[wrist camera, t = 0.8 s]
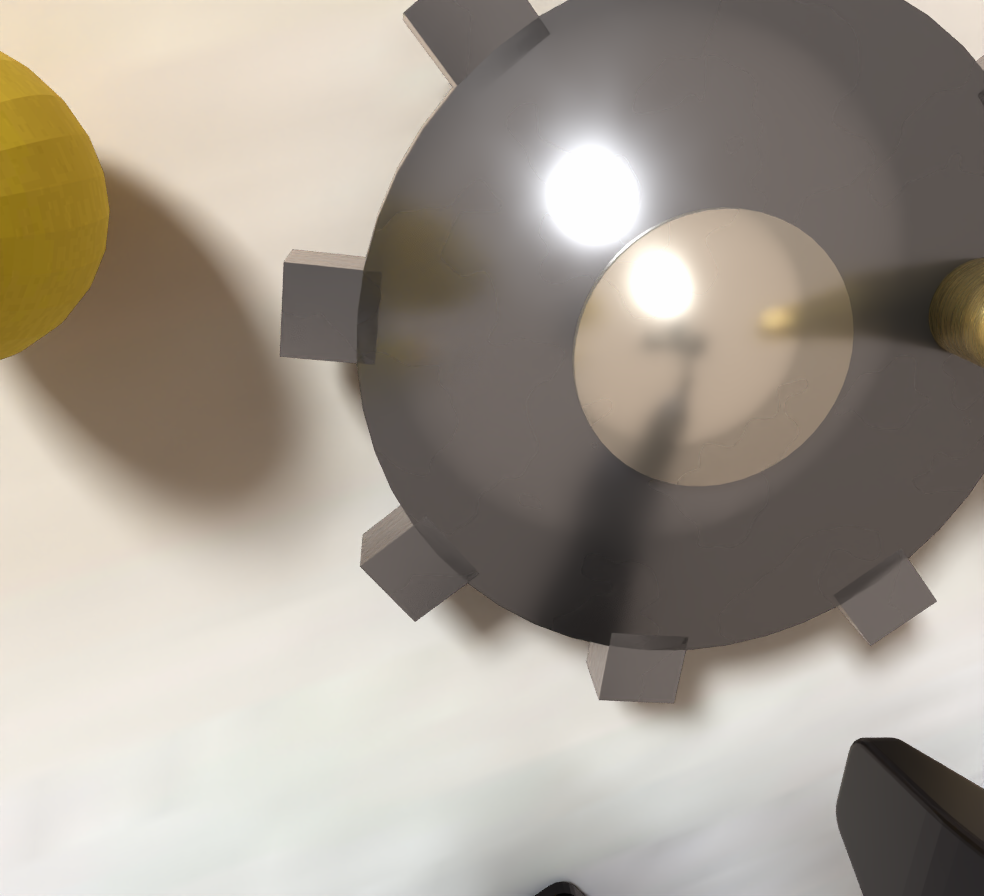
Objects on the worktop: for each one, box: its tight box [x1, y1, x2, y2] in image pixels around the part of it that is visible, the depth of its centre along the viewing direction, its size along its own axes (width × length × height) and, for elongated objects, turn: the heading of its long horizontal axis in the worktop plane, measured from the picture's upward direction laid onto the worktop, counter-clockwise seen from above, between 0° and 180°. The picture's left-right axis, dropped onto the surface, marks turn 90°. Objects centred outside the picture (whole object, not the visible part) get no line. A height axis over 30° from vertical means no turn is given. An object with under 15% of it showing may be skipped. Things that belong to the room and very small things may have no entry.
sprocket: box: [280, 0, 984, 703], centre depth 17 cm, size 17×17×4 cm
